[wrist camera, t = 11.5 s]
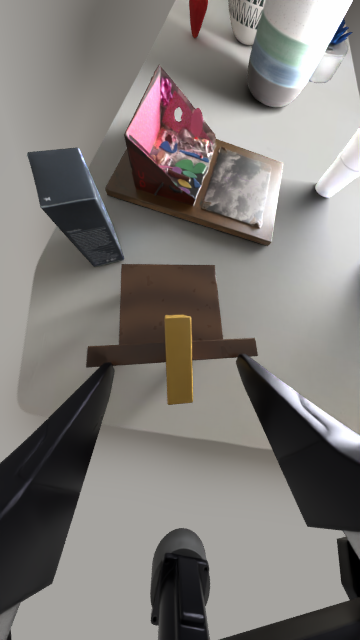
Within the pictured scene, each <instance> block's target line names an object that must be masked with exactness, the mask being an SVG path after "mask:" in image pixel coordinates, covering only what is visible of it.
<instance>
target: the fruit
mask: <svg viewBox="0 0 360 640" xmlns="http://www.w3.org/2000/svg"><path fill="white" fill-rule="evenodd" d="M207 5H208V0H189V7H190V23H191V31H192V35H193V37H194V38H196V37H197V36H198V33H199V31H200V28H201V25H202V22H203V19H204V16H205V13H206V10H207Z"/></svg>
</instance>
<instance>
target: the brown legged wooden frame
mask: <svg viewBox="0 0 360 640" xmlns="http://www.w3.org/2000/svg"><path fill="white" fill-rule="evenodd" d="M165 315H186V316H190V317H191V330H192V360H206V359H221V358H236V357H238V356H239V354H246V355H248V356H249V357H251V356H258V354H257V347H256V341H255V338H242V339H223V335H222V326H221V317H220V308H219V299H218V290H217V281H216V272H215V265H151V264H122V268H121V299H120V331H119V345H106V346H88V350H87V363H86V367H87V368H88V367H100V366H101V365H102V364H104V363H107V362H111V363H112V365H113V366H117V365H132V364H147V363H162V362H166V348H165V321H164V318H165Z"/></svg>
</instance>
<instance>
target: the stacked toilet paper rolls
mask: <svg viewBox="0 0 360 640" xmlns="http://www.w3.org/2000/svg"><path fill="white" fill-rule="evenodd" d="M359 175H360V128H359V129H358V130H357V132H356V133H355V134H354V136H353V137H352V138H351V140H350V141H349V142H348V144H347V145H346V147H345V148H344V149H343V150H342V151H341V153H340V154H339V155H338V157H337V158H336V159H335V160H334V162H333V163H332V164H331V166H330V167H329V168H328V170H327V171H326V172H325V174H324V175H323V176H322V178H321V179H320V180H319V181H318V183H317V184H316V190H317V192H318V193H319V194H320V195H321V196H323V197H331V196H332V195H333V194H335V193H336V192H337V191H339V190H340V189H341V188H343V187H344V186H345V185H347V184H348V183H350V182H351V181H352V180H354V179H355V178H356V177H358V176H359Z"/></svg>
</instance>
